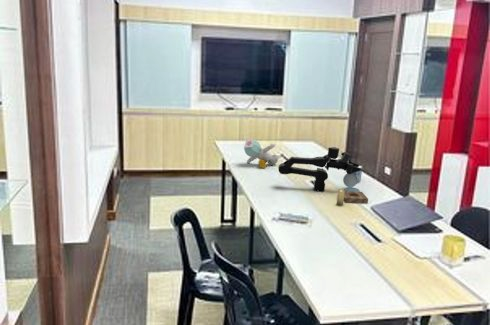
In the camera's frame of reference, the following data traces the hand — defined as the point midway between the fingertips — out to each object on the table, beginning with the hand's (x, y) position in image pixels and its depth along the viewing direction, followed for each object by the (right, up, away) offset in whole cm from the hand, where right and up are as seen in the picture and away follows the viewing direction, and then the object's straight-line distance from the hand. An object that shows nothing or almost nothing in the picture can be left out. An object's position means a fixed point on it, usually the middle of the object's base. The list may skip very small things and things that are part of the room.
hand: (360, 167), depth 289 cm
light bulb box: (+3, -10, +30) cm, 32 cm away
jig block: (-7, -20, -10) cm, 23 cm away
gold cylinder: (-18, -22, -21) cm, 35 cm away
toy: (-62, 0, +57) cm, 85 cm away
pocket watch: (-4, -16, +6) cm, 18 cm away
